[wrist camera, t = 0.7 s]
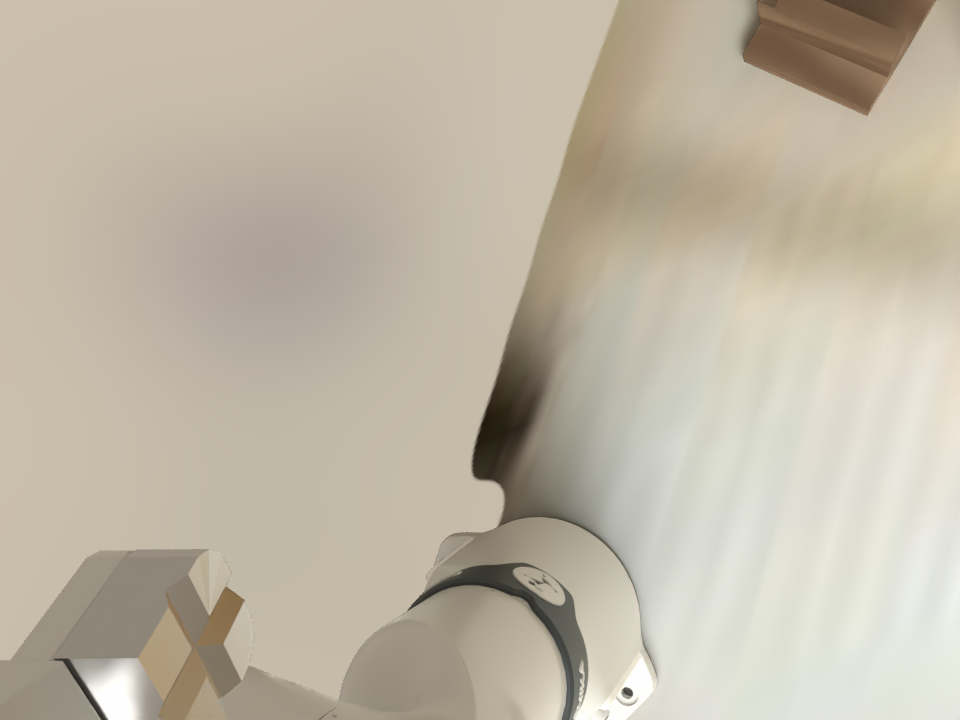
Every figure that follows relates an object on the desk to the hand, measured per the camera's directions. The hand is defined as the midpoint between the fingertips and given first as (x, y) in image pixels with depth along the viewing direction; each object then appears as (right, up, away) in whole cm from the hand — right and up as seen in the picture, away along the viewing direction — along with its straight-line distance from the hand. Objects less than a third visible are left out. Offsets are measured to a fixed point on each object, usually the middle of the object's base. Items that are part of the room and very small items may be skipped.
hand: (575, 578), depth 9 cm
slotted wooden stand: (+24, +26, +48) cm, 60 cm away
